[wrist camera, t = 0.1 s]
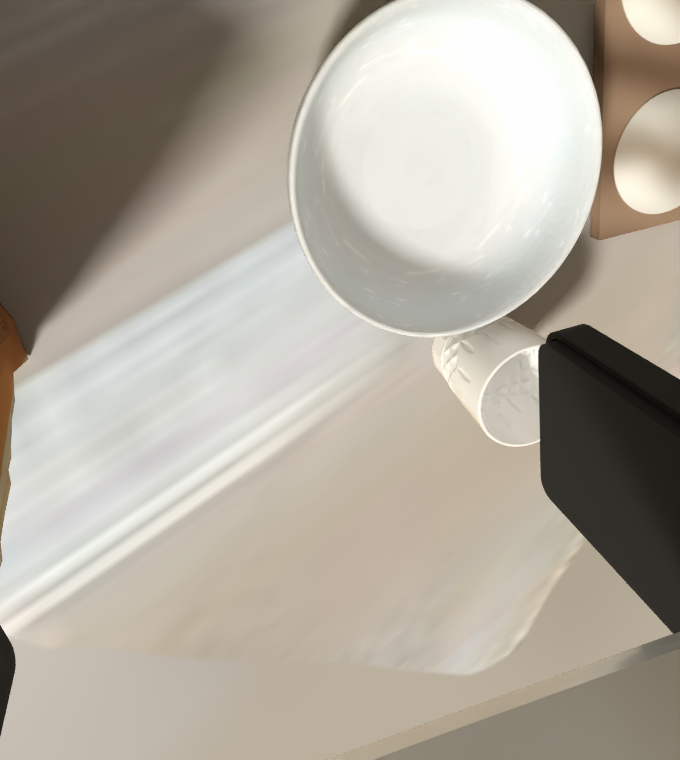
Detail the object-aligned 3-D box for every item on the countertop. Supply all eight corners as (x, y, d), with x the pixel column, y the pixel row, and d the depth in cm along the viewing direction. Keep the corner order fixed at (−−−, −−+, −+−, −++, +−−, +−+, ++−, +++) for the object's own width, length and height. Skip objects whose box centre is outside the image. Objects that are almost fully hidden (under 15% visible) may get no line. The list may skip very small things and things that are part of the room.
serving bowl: (598, 84, 47) (664, 87, 41) (464, 339, 53) (504, 373, 47) (347, -75, 39) (383, -100, 33) (224, 248, 45) (235, 276, 39)
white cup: (438, 292, 51) (498, 339, 42) (524, 303, 53) (598, 350, 44) (414, 382, 54) (465, 444, 45) (496, 389, 56) (560, 449, 47)
